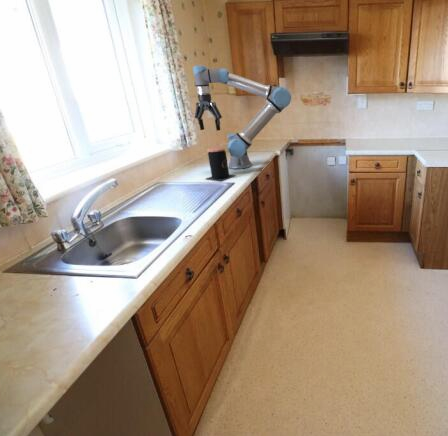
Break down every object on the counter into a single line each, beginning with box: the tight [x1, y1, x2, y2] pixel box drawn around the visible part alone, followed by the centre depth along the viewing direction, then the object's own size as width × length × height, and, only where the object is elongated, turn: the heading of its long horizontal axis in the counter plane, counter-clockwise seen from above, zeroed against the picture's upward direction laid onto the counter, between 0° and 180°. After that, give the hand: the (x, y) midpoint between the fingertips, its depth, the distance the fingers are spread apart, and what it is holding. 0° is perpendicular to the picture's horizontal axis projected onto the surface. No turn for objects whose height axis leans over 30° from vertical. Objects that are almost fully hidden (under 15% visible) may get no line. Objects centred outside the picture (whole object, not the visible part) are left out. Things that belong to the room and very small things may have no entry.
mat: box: [206, 174, 236, 182], centre depth 205 cm, size 13×13×1 cm
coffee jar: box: [206, 146, 230, 179], centre depth 201 cm, size 11×11×18 cm
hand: (210, 130), depth 203 cm, fingers open, 13 cm apart
